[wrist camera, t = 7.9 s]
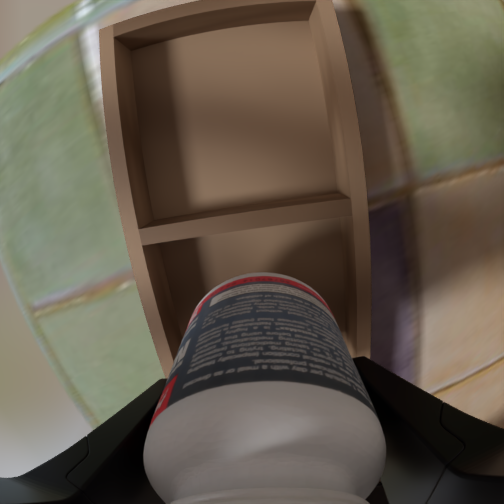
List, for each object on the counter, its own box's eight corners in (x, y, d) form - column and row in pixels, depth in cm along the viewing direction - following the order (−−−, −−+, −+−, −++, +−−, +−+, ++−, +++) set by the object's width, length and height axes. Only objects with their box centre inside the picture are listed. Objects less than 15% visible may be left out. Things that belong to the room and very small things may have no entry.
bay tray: (348, 453, 17) (356, 481, 15) (219, 468, 18) (216, 496, 15) (317, 14, 11) (328, -12, 8) (122, 47, 11) (99, 29, 9)
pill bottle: (179, 273, 11) (38, 510, 2) (335, 263, 10) (488, 495, 2) (201, 394, 12) (159, 599, 3) (329, 387, 12) (383, 590, 3)
